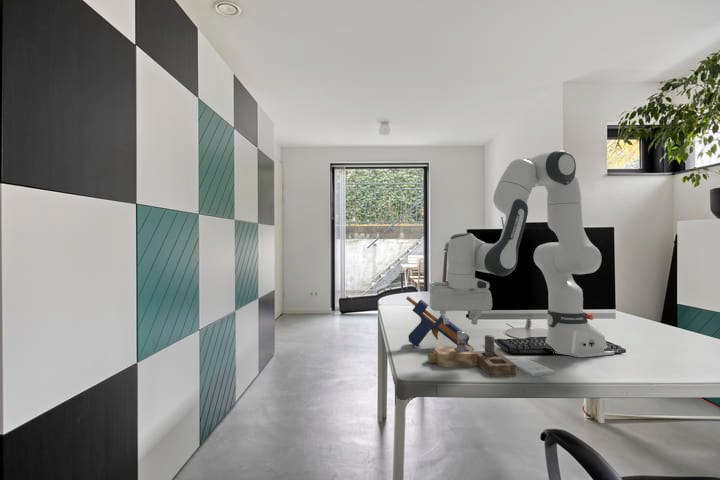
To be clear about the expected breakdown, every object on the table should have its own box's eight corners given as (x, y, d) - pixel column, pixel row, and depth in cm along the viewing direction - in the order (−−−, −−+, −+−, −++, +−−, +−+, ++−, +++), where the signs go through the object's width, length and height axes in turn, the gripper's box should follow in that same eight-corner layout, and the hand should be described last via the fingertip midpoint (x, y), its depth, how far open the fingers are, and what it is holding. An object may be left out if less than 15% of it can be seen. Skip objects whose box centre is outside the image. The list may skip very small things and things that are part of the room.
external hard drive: (528, 363, 135) (555, 375, 123) (506, 365, 132) (532, 378, 120) (528, 358, 134) (555, 370, 123) (506, 360, 132) (532, 372, 120)
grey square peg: (464, 360, 136) (464, 330, 136) (467, 363, 133) (467, 332, 133) (455, 360, 136) (455, 330, 136) (458, 363, 133) (458, 333, 133)
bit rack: (497, 359, 136) (496, 333, 136) (516, 375, 121) (516, 345, 121) (473, 360, 136) (473, 333, 136) (490, 375, 121) (489, 345, 121)
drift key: (451, 360, 136) (451, 351, 136) (454, 363, 132) (454, 354, 132) (427, 360, 135) (427, 352, 135) (429, 363, 132) (429, 355, 132)
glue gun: (453, 376, 149) (478, 345, 147) (386, 325, 154) (409, 294, 151) (453, 370, 155) (477, 340, 153) (388, 321, 160) (410, 291, 157)
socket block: (467, 357, 139) (467, 346, 139) (476, 366, 130) (476, 353, 130) (433, 358, 138) (433, 346, 138) (439, 367, 129) (439, 354, 129)
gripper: (431, 283, 130) (431, 326, 130) (494, 283, 131) (493, 326, 131) (427, 280, 137) (427, 322, 137) (487, 281, 137) (486, 322, 138)
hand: (460, 324), depth 134 cm, fingers open, 8 cm apart
